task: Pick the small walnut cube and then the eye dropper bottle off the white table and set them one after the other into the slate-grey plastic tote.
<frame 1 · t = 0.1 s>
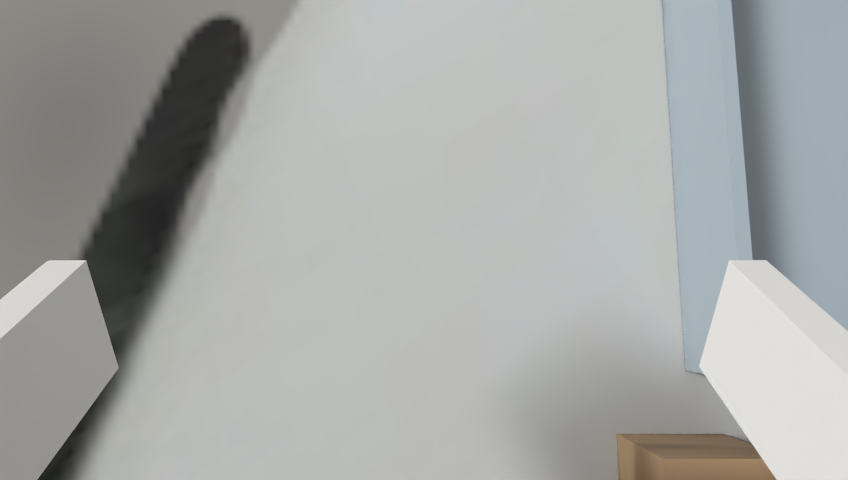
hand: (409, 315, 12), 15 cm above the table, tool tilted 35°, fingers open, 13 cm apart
tote: (836, 118, 29), on the table
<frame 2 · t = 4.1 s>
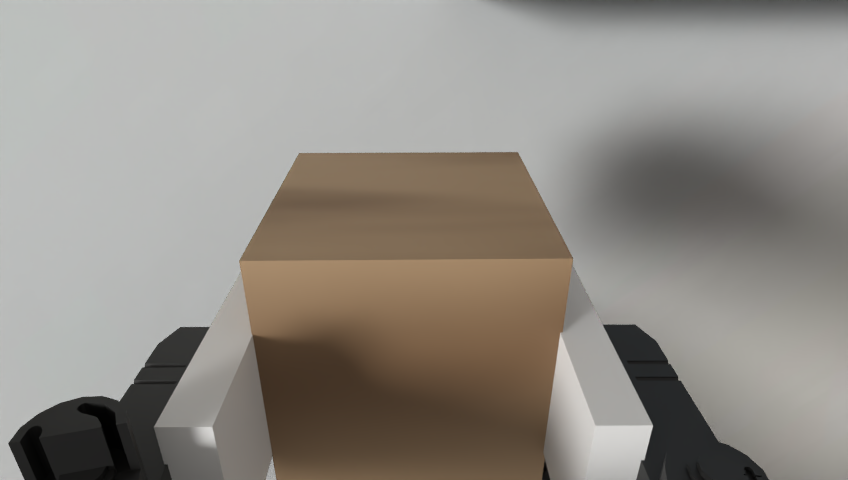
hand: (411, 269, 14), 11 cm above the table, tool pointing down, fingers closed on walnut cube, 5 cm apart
walnut cube: (409, 249, 14), point 10 cm above the table, touching gripper
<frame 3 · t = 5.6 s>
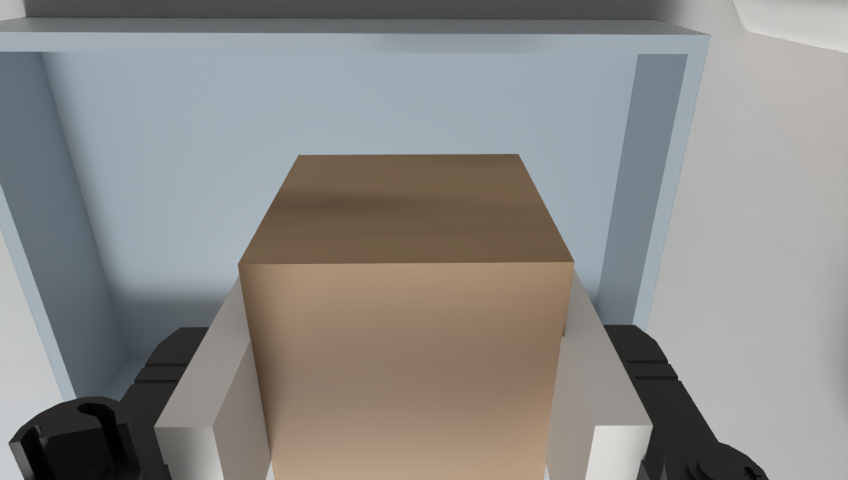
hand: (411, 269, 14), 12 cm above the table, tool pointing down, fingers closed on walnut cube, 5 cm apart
tote: (352, 214, 26), on the table
walnut cube: (409, 251, 14), point 12 cm above the table, touching gripper
when the fingers open (1 cm above the table, at t = 7.8 s): walnut cube stays where it is, resting on tote.
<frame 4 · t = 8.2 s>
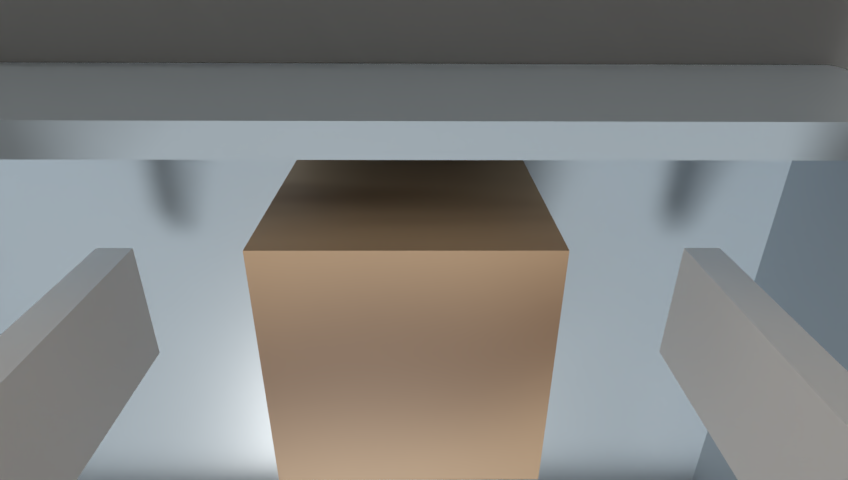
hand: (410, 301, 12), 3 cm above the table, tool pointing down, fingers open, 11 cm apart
tote: (310, 364, 17), on the table
walnut cube: (411, 245, 14), point 1 cm above the table, touching tote
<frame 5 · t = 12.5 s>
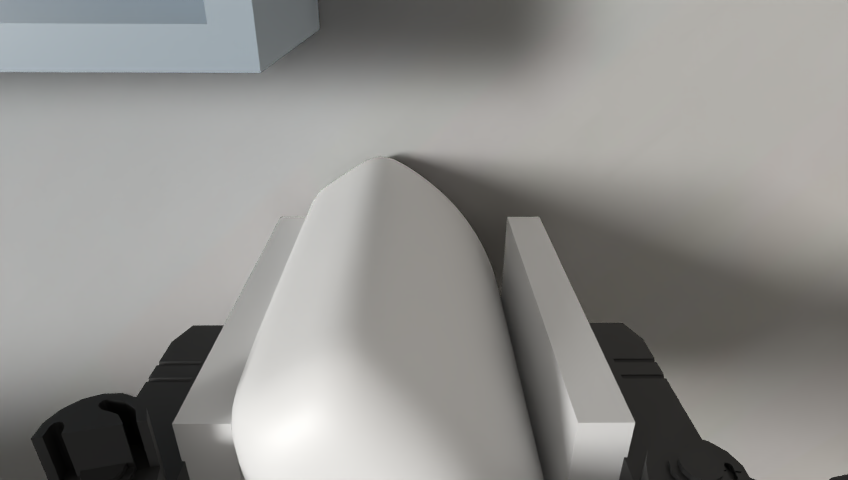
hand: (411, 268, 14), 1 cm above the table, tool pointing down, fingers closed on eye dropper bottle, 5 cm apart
eye dropper bottle: (412, 250, 15), on the table, touching gripper
when the fingers open (3 cm above the table, at t = 17.3 s): eye dropper bottle drops 1 cm, resting on tote.
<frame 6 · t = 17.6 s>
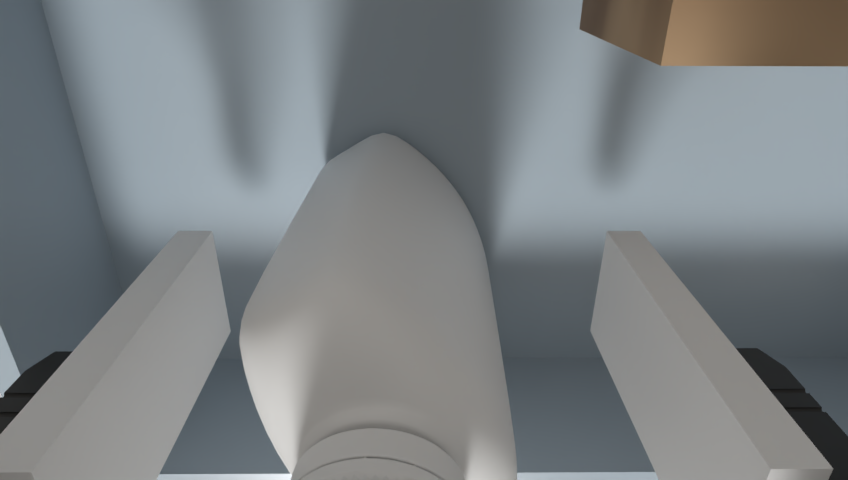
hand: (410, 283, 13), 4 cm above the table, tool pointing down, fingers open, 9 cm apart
tote: (545, 98, 15), on the table
eye dropper bottle: (409, 224, 16), resting on tote
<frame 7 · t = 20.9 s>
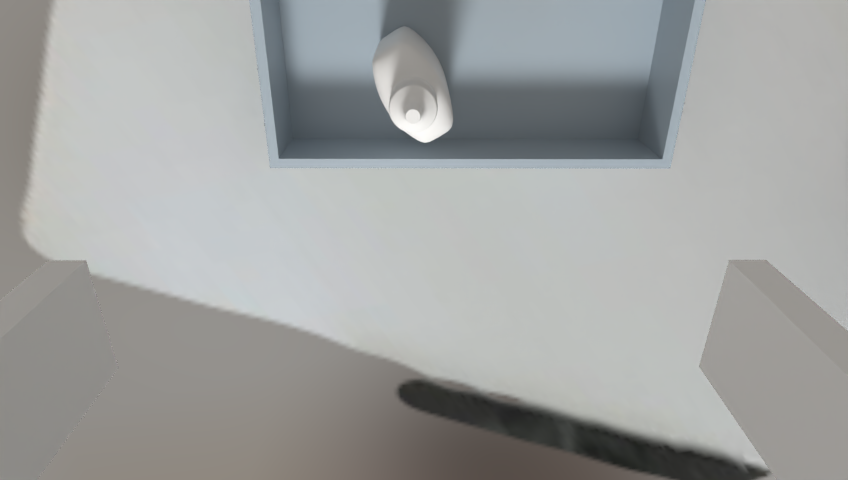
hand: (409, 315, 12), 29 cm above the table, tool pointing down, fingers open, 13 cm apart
tote: (470, 14, 36), on the table
eye dropper bottle: (414, 69, 37), resting on tote
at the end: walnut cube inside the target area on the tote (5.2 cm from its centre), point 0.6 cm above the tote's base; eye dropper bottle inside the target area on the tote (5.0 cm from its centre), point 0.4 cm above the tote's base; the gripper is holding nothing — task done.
